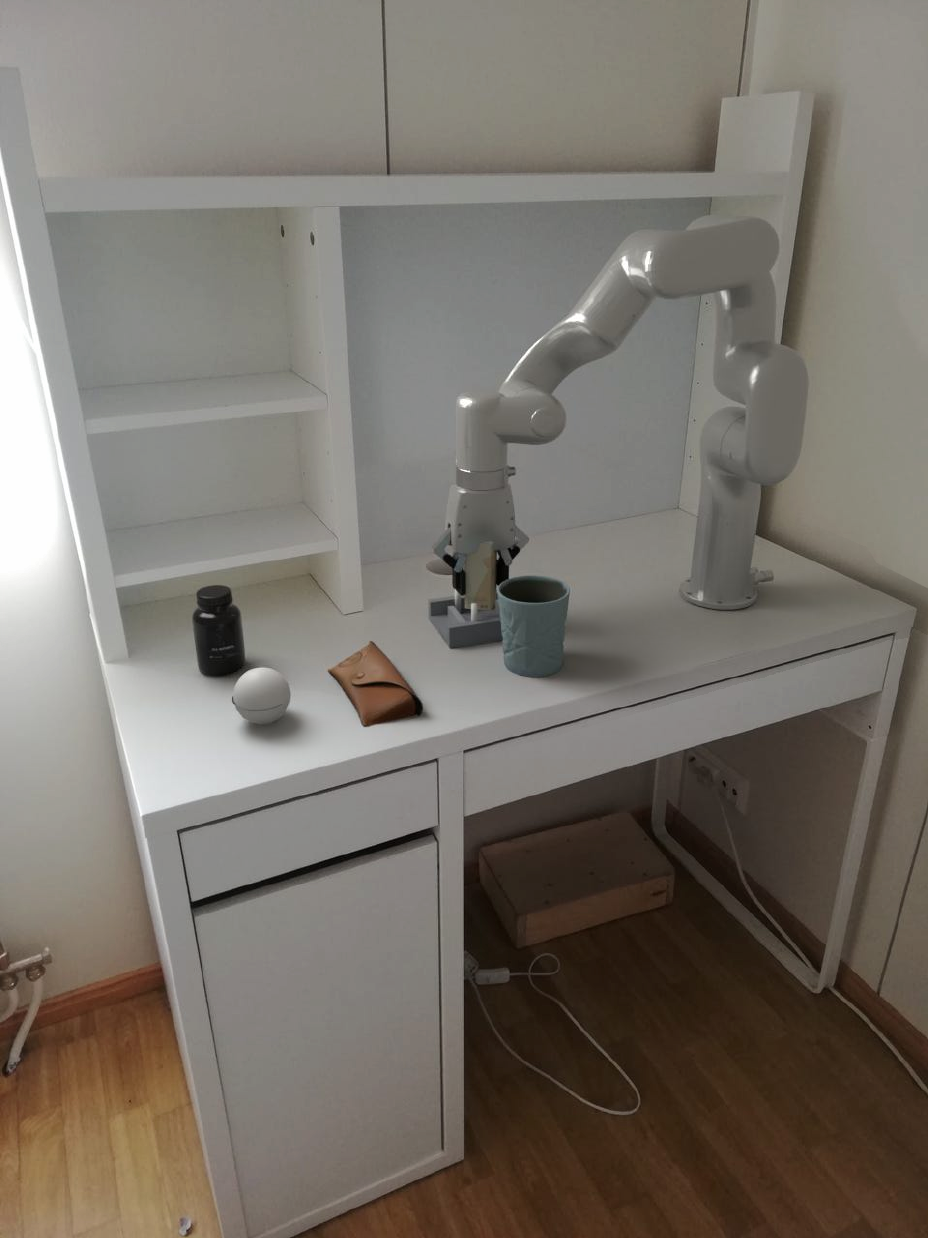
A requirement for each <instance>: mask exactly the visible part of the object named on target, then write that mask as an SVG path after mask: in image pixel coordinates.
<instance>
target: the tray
mask: <svg viewBox="0 0 928 1238" xmlns="http://www.w3.org/2000/svg"><path fill="white" fill-rule="evenodd" d="M427 603H428V620H429V622H430V623H431V624H432V626H433V627H434V628H435V630H436V631H437V633H438V634H439V635H440V637H441V638H442V640H443V641H444V642H445V644H446V645H447V647H448V648H449V649H452V648H460V647H464V646H465V647H466V646H471V645H477V644H484V643H491V642H496V641H497V642H498V641H503V637H502V635H501V633H502V631H501V622H500V621H501V618H500V610H499V602H498V593H497V589H496V601H495V603H494V605H493V608H492V610H478V604H477V603H471V609H465V595H464V596H461V595H460V594H459V593H458V592H457V591H456V589H454V595H452V596H443V597H438V598H432V599H431V598H430V599H428V600H427Z"/></svg>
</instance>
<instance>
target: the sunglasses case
mask: <svg viewBox="0 0 928 1238" xmlns="http://www.w3.org/2000/svg"><path fill="white" fill-rule="evenodd" d="M327 673H329V675H330V676H331V677H333V679H334V680H336V682H337V684H338V685H339V686H340V688H341V689H342V691H343V692H344V693H345V695H346V697H347V699H348V700H349V701H350V703H351V704H352V706H353V708H354V709H355V711H356V712H357V716H358V717H359V719H360V723H361V725H362V726H363V727H366V728H370V727H373V726H376V725H380V724H384V723H389V722H393V721H398V720H404V719H407V718H411V717H416V716H418V717H420V716H421V715H422V712H423V710H424V708H423V703H422V700H421V699H420V698H419V696H418V695H417V693H416V692H415V691H414V690H413V688H412V686H410V684H409V683H408V681H407V680H406V679H405V678H404V676H402V674H401V672H400V671H399V670H398V669H397V667H396V666H395V665H394V664H393V662H392V661H391V660H390V659H389V657H388V656H387V655H386V654H385V653H384V652H383V651H382V650H381V649H380V648H379V647H378V645H377V644H376V643H375V642H374V641H372V640H369V642H368V644H367V645H366V646H364V647H361V649H359V650H357V651H356V652H355V653H353V654H352V655H350V656H349V657H347V658H345V659H344V660H342V661H341V662H339V663H338V664H336V665H335V666H333V667H331V668H328V669H327Z"/></svg>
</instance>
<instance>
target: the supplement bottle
mask: <svg viewBox="0 0 928 1238" xmlns="http://www.w3.org/2000/svg"><path fill="white" fill-rule="evenodd" d="M195 594H196V605H197V608H195V609H194V611H193V612H192V616H191V622H192V630H193V636H194V637H193V638H194V646H195V653H196V659H197V660H196V661H197V667H198V669H199V670H200V672H201V673H202V674H205V675H207V676H210V677H224V676H225V677H226V676H229V675H233V674H235V673H239V671H241V670H242V669H243V668H244V667H245V665H246V664H247V663H246V662H247V661H246V658H247V657H246V648H245V639H244V628H243V622H242V621H243V619H242V618H243V617H242V612H241V610H240V608H239V607H238V606H237V605H235V603H233V602H234V599H233V594H232V588H230V587H228V586H226V585H223V584H222V585H220V584H215V585H214V584H213V585H206V586H204V587H200V588H199V589H198V590H197V591H196V593H195Z"/></svg>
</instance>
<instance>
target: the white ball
mask: <svg viewBox="0 0 928 1238" xmlns="http://www.w3.org/2000/svg"><path fill="white" fill-rule="evenodd" d="M232 692H233V693H232V696H231V702H232V704H233V705H234V707H235V710H236V711H237V712H238V714H240V716H241V717H242V718H243V719H245V720H246V721H248V722H250V723H252V724H257V725H265V724H270V723H274V722H275V721H277V720H278V719H279V718H281V716H283V715H284V714H285V713H286V712H287V709H288V708H289V704H290V702H291V696H292V695H291V689H290V685H289V683H288V681H287V679H286V678H285V677H284V675H282V674H281V673H280V672H278V670H275V669H273V668H269V667H255V668H251V669H249V670H247V671H246V672H245V673H243V674H242V675H241V676H240V677H238V679H237V681H236V683H235V685H234V688H233V691H232Z"/></svg>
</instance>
